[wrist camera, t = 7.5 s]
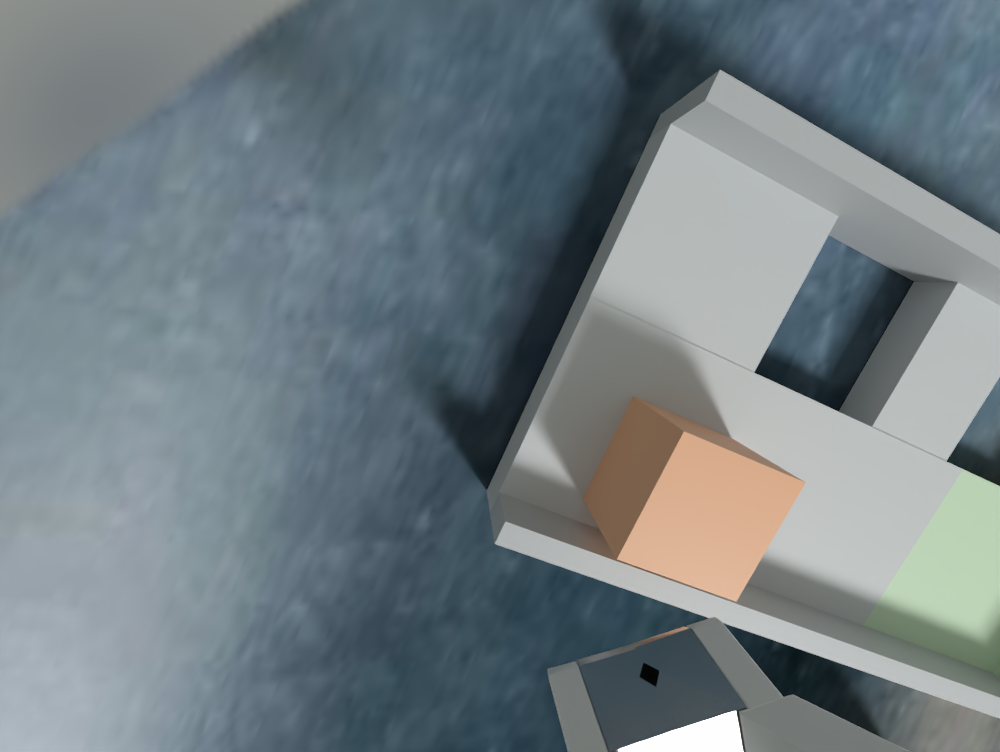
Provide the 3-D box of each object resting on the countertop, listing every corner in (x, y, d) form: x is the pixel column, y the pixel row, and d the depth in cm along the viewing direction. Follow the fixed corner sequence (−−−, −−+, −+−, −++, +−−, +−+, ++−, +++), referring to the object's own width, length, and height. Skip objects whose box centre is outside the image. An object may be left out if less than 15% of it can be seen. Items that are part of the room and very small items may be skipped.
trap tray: (486, 490, 22) (494, 543, 18) (660, 114, 20) (720, 69, 15) (957, 663, 28) (1052, 736, 23) (1149, 385, 25) (1298, 410, 20)
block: (582, 498, 21) (616, 559, 16) (633, 396, 20) (684, 431, 16) (679, 535, 22) (736, 601, 17) (731, 438, 21) (805, 482, 16)
